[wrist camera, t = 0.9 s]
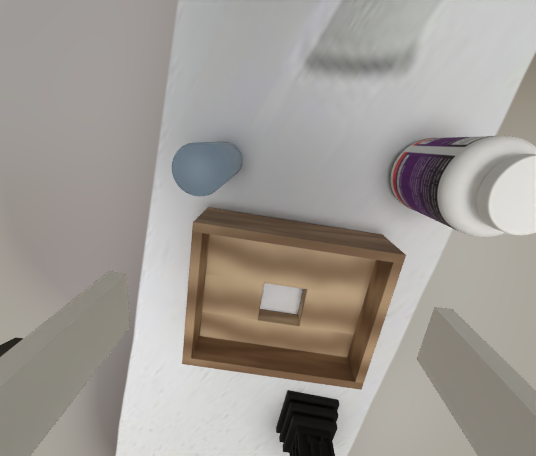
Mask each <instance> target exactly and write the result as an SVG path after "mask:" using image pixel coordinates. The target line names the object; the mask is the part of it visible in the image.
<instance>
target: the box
mask: <svg viewBox="0 0 536 456" xmlns="http://www.w3.org/2000/svg"><path fill="white" fill-rule="evenodd" d="M405 256H406V255H405V254H404V253H403V252H402V251H401V250H399V249H398V248H397V247H396V246H395V245H394V244H392V243H391V242H390V241H389V240H388V239H387V238H386V237H384V236H383V235H381V234H374V233H368V232H362V231H355V230H349V229H342V228H336V227H330V226H323V225H317V224H311V223H304V222H298V221H291V220H285V219H279V218H272V217H266V216H260V215H253V214H247V213H240V212H234V211H228V210H221V209H215V208H207V209H206V210H205V211H204V212H203V213H202V214H201V215H200V216H199V217H198V218H197V219H196V220H195V221H194V222H193V230H192V243H191V256H190V269H189V282H188V295H187V308H186V321H185V334H184V347H183V360H182V364H187V365H194V366H201V367H208V368H215V369H222V370H229V371H236V372H243V373H250V374H256V375H263V376H270V377H277V378H284V379H291V380H298V381H305V382H312V383H319V384H326V385H333V386H340V387H347V388H354V389H362V386H363V383H364V380H365V377H366V374H367V371H368V368H369V365H370V362H371V359H372V356H373V353H374V350H375V347H376V344H377V341H378V338H379V335H380V332H381V329H382V326H383V323H384V320H385V317H386V314H387V311H388V308H389V305H390V302H391V299H392V296H393V292H394V289H395V286H396V283H397V280H398V277H399V274H400V271H401V268H402V265H403V262H404V259H405ZM264 283H269V284H275V285H282V286H289V287H295V288H302V289H303V294H302V298H301V303H300V307H299V312H298V315H295V314H289V313H282V312H275V311H269V310H262V309H260V303H261V297H262V291H263V285H264Z"/></svg>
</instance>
